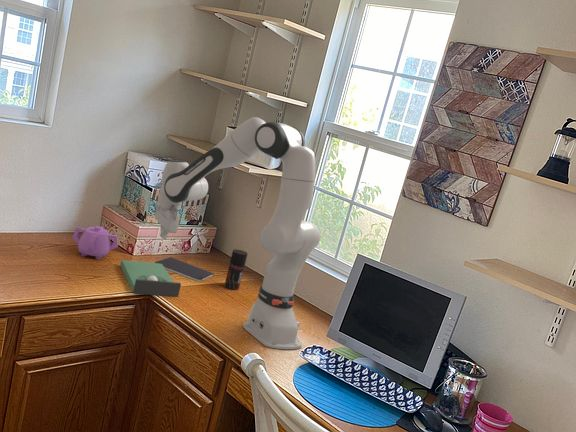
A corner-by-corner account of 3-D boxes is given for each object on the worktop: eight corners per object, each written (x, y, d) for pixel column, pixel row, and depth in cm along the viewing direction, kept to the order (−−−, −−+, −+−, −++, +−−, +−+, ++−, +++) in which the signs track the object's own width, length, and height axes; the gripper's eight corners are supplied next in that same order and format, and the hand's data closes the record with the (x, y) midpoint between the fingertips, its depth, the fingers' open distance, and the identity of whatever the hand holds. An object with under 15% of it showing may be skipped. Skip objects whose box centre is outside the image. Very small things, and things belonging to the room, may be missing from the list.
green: (178, 296, 214) (181, 283, 213) (133, 293, 206) (136, 280, 205) (160, 269, 237) (163, 257, 236) (120, 265, 230) (122, 253, 229)
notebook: (213, 277, 246) (169, 260, 253) (214, 273, 246) (170, 257, 253) (198, 283, 235) (153, 265, 241) (199, 279, 234) (153, 262, 241)
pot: (75, 244, 242) (80, 216, 239) (118, 253, 244) (124, 226, 242) (64, 256, 224) (69, 227, 222) (110, 266, 227) (116, 237, 225)
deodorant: (236, 291, 235) (245, 255, 232) (222, 287, 236) (231, 251, 233) (240, 287, 240) (249, 252, 238) (226, 283, 241) (235, 248, 238)
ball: (157, 288, 216) (160, 278, 215) (146, 288, 214) (149, 278, 213) (155, 283, 220) (157, 274, 219) (144, 283, 218) (146, 273, 217)
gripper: (185, 210, 215) (178, 246, 217) (171, 197, 232) (164, 231, 235) (168, 208, 212) (161, 245, 214) (155, 195, 229) (148, 229, 232)
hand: (163, 237), depth 225 cm, fingers closed
